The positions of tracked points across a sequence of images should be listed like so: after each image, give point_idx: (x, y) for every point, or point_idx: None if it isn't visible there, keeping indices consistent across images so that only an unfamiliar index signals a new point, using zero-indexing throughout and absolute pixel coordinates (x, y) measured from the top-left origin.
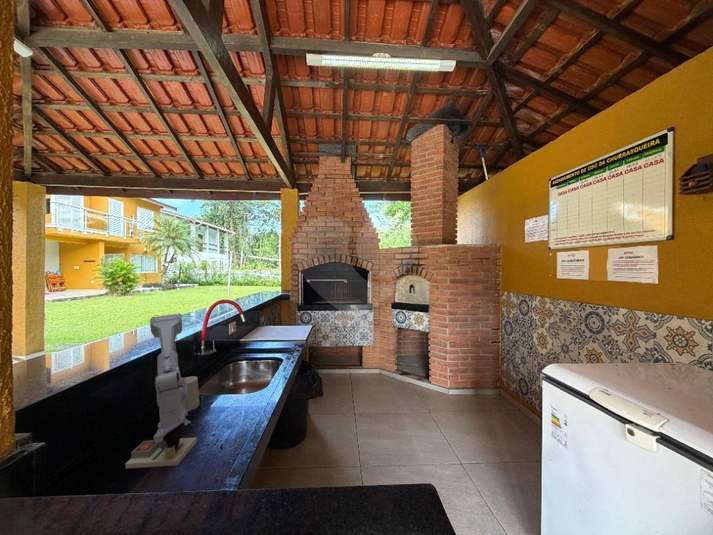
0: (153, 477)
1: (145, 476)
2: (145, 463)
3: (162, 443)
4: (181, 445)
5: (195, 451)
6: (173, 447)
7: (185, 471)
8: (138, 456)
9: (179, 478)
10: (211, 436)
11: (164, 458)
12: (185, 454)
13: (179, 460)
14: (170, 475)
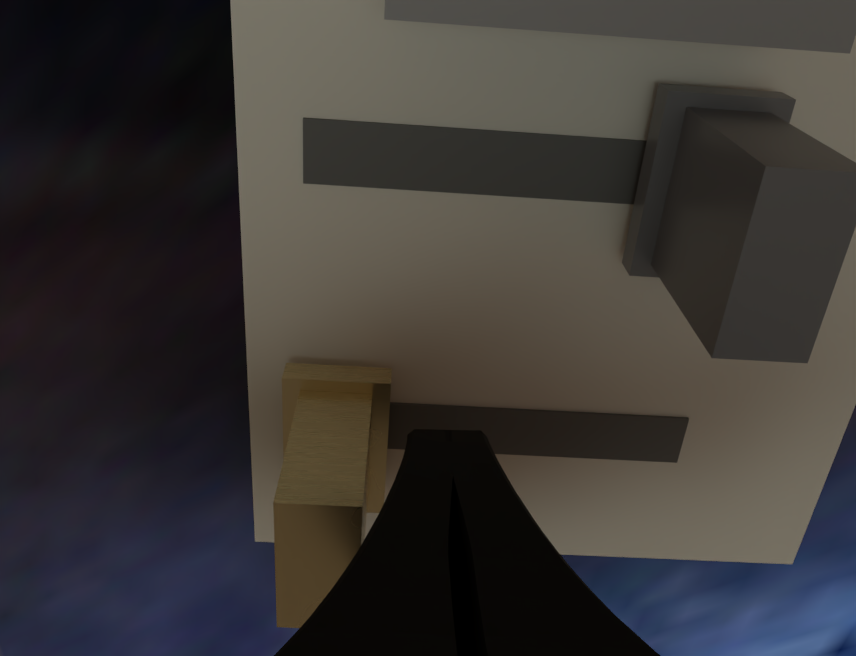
0: (28, 305)
1: (36, 162)
2: (236, 19)
3: (695, 159)
4: (631, 446)
5: None
6: None
7: (157, 623)
8: None
9: (45, 614)
10: (818, 636)
11: (288, 370)
12: None
13: None
14: (83, 502)
